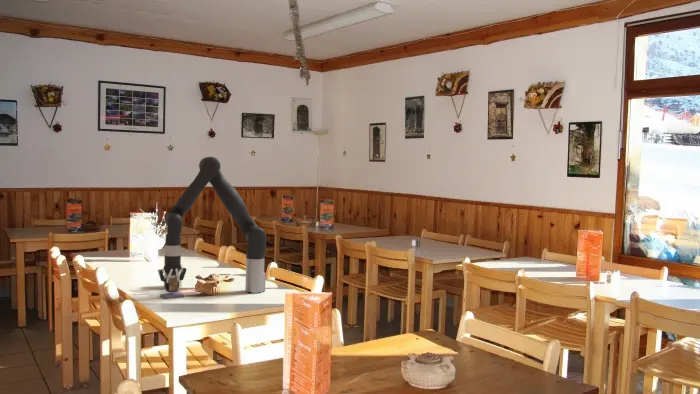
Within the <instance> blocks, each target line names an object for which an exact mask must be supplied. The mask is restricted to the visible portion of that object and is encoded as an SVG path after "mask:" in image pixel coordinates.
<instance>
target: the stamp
mask: <svg viewBox="0 0 700 394" xmlns="http://www.w3.org/2000/svg"><path fill="white" fill-rule="evenodd" d="M168 283H169V290H166V289H165V292H167V293H174V292H178V290H179V288H178V279H176V278H170V279H169V282H168Z"/></svg>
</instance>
